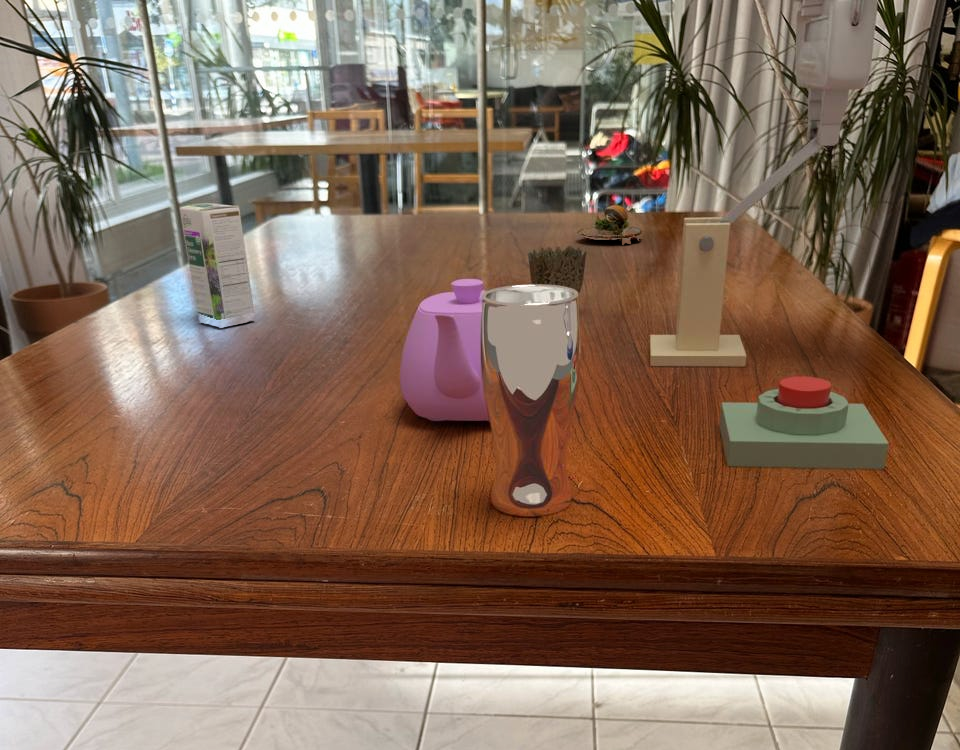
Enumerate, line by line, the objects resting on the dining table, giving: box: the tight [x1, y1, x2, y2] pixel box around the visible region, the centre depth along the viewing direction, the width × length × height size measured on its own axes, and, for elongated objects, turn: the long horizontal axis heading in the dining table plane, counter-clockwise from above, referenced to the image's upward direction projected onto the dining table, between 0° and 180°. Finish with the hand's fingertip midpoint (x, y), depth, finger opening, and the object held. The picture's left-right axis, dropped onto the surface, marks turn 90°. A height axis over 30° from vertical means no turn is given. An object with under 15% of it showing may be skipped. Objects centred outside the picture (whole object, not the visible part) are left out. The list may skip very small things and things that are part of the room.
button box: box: [718, 388, 890, 470], centre depth 78 cm, size 12×10×4 cm
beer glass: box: [480, 283, 582, 518], centre depth 67 cm, size 7×7×15 cm
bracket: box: [649, 216, 747, 368], centre depth 101 cm, size 10×9×14 cm
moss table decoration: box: [577, 195, 643, 239], centre depth 172 cm, size 12×12×8 cm
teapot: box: [399, 278, 490, 423], centre depth 87 cm, size 20×13×12 cm, turn 170°
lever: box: [705, 129, 833, 226], centre depth 95 cm, size 16×5×2 cm
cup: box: [527, 245, 588, 294], centre depth 122 cm, size 8×7×8 cm
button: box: [777, 376, 832, 409], centre depth 77 cm, size 4×4×2 cm
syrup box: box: [179, 202, 255, 320], centre depth 123 cm, size 6×6×14 cm
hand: (821, 142), depth 92 cm, fingers closed on lever, 5 cm apart
